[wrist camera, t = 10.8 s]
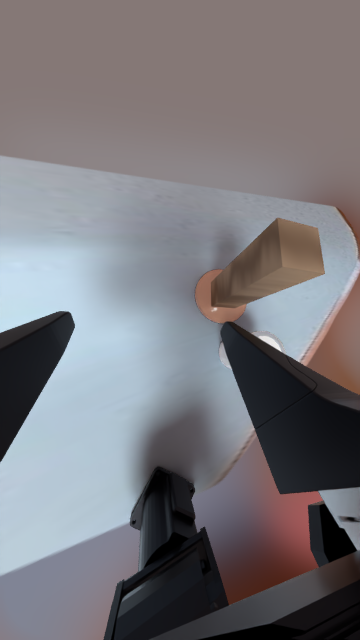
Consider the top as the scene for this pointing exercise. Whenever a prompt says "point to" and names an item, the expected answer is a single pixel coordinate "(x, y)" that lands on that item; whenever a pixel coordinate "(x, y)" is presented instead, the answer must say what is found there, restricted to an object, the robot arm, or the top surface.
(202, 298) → the orange flat disc
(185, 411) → the top surface
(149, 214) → the top surface
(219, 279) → the walnut block
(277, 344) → the white short cylinder
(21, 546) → the top surface
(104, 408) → the top surface
